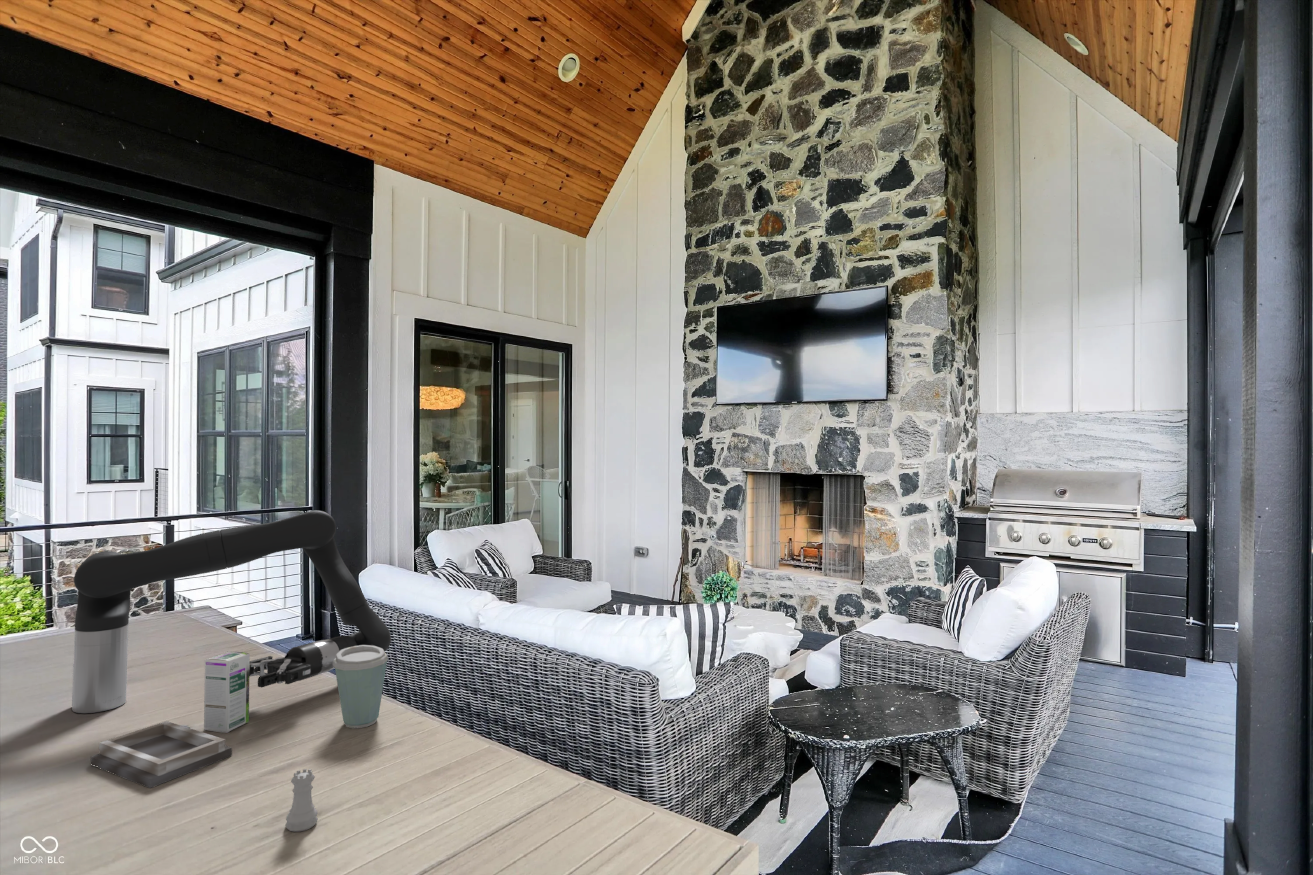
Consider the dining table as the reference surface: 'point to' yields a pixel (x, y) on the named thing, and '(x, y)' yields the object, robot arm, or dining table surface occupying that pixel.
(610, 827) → the dining table surface
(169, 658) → the dining table surface
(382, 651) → the disposable coffee cup
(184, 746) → the shallow rectangular tray
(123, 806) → the dining table surface
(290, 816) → the rook chess piece
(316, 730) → the dining table surface
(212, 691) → the syrup box
